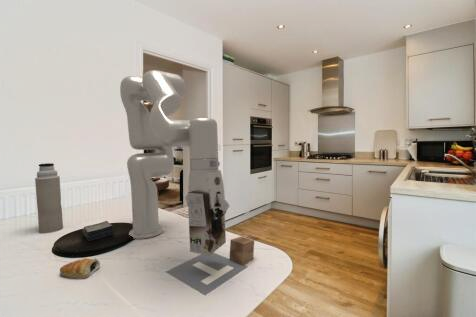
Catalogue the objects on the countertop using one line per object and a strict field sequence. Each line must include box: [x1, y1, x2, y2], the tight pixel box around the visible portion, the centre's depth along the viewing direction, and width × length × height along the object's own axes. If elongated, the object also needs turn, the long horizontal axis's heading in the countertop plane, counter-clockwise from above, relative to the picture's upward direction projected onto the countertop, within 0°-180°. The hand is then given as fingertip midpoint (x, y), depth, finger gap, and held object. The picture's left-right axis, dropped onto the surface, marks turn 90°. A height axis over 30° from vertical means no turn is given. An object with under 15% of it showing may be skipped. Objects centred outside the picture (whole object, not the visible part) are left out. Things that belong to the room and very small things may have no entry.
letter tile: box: [165, 252, 248, 296], centre depth 66 cm, size 16×16×1 cm
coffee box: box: [187, 191, 226, 256], centre depth 65 cm, size 9×6×16 cm
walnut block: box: [228, 236, 255, 266], centre depth 71 cm, size 5×5×6 cm
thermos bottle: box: [34, 162, 64, 234], centre depth 99 cm, size 8×8×28 cm
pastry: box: [59, 257, 101, 279], centre depth 66 cm, size 9×7×4 cm
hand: (206, 229), depth 65 cm, fingers closed on coffee box, 7 cm apart
